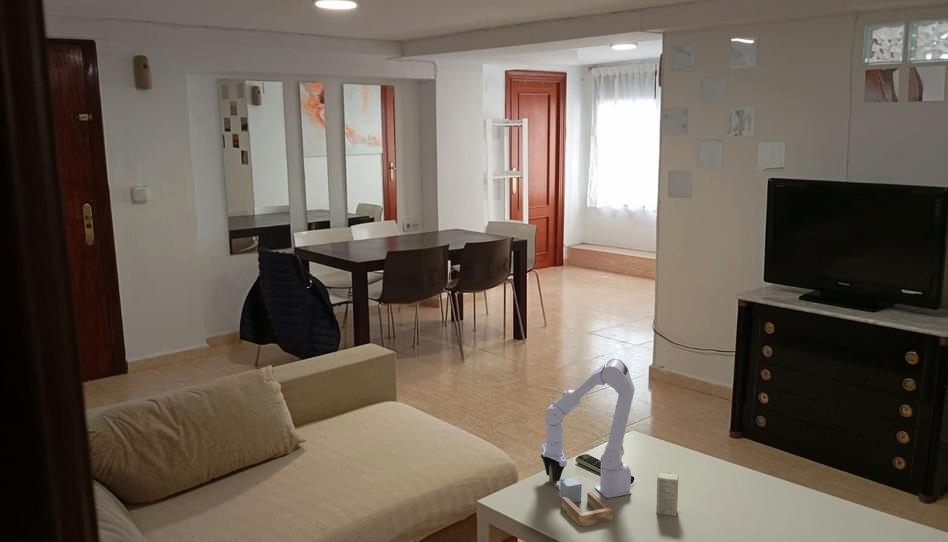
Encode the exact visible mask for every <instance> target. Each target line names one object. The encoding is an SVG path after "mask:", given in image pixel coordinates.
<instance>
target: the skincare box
mask: <svg viewBox="0 0 948 542" xmlns="http://www.w3.org/2000/svg"><path fill="white" fill-rule="evenodd" d="M656 478H657V479H656V480H657V482H656V483H657V485H656V511H655V512H656V514H658V515H667V516H672V517H676V516H677V513H678V503H679V502H678V499H679V498H678V497H679V474H677V473H672V472H671V473H670V472H662V471H659V472H658V473H657V476H656Z"/></svg>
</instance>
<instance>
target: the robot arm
mask: <svg viewBox="0 0 948 542" xmlns="http://www.w3.org/2000/svg"><path fill="white" fill-rule="evenodd" d="M629 370H630V369H629V367H628V366H627V365H626V364H625V362H624V361H623V360H621V359H619V358H611V359H609V360H608V361H607V362H606V363H604V364H603V365H602V366H600V367H598V368H597V369H596V370H595V371H594V372H592V374H590V375H589V376H588V377H587V378H586V379H585V380H584V381H583V382H581V384H580V385H578V387H576V388H575V389H567V390H564V391H563V392H562V393H561V396H560V397H559V398H558V399H557V400H553V402H552V403H551V404H550V405H549V406H548V407H547V409H546V411H545V412H544V415H543V416H544V420H545V439H544V440H545V441H544V442H545V443H543V444H541V451H543V452H541V454H540V458H541V459H542V462H543V464H544V469H545V473H546V476H548V477H549V465H550V466H551V469H552V477H553V481H554V482H556V481H557V482H560V480H561V476H562V473H563V471H564V469H565V467H566V466H567V463H568V462H567V459H566V458H565V455H564V452H563V441H564V440H563V439H564V437H563V436H564V435H563V434H564V427H563V425H564V424H563V423H564V422H563V418H565V416H567V415H569V414H570V413H571V412H572V411H574V410H575V409H576V408H577V407H579V405H581V402H582V398H583V397H584V396H585V395H586V394H588V393H589V392H590V391H591V390H593V389H594V388H595V387H596V386H605V385H607V386H609V387H611V388H612V389H613V390H614V391H615V392H616V393H617V394H618V396H617V401H616V404H615V409H614V414H613V420H612V423H611V427H610V431H609V436H608V441H607V443H606V445H605V446H604V447H605V448H604V450H603V453H602V455H601V457H600V478H599V479H600V480H599V481H600V482H599V483H600V484H599V485H594V486H595V487H594V489H596V490H597V492H599V493H600V494H601V495H602V496H604V498H606V499H611V498H616V497H620V496H625V495H631V494H632V491H631V482H632V481H631V480H632V473H631V468H630V466H629V464H627V463H623V461H622V458H623V456H624V454H625V448H624V445H623V444H624V438H625V434H626V430H627V425H628V421H629V417H630V412H631V408H632V407H631V406H632V404H633V400H634V399H633V398H634V395H635V389H636V388H635V386H634V383H633V380H632V377H631V375H630V371H629Z"/></svg>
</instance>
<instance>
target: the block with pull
mask: <svg viewBox="0 0 948 542" xmlns="http://www.w3.org/2000/svg"><path fill="white" fill-rule="evenodd" d="M548 483H549V484H550V485H553V487H555V488H556V489H557V490H558V491H559V497H561V498H560V499H562V497H567V498H568V499H569V500H571V501H572V502H573V503H574V504H575V503H580V502H582V486H583V484H582V483H581V482H580V481H579V480H578V479H577V478H576V477H575V476H574V477H573V476H572V477H570V478H569V477H568V478H562V479H560V481H559V483H560V484H559V483H558V481H556V482H554V481H553V477H552V469H551V466H550V465H549V476H548Z"/></svg>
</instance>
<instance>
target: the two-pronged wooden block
mask: <svg viewBox="0 0 948 542" xmlns="http://www.w3.org/2000/svg"><path fill="white" fill-rule="evenodd" d="M586 495H587V497H586V500H587V501H586V503H587V504H588V506H590V507H591V508H592V509H593V510H590V511H586V512H583V511H582V510H581V509H580V508H579V506H577V505H576V504H575V503H573V502H572V501H571V500H569V499H568V498H567V497H562V498H561V507H562V508H561V507H560V508H561V509H562V510H563V511H564V510H565V511H566V512H567V513H568V514H569V515H570V516H571V517H570V516H569V515H568V514H567V513H566V512H565V511H564V512H565V513H566V514H567V515H568V516H569V517H570V518H571V519H572V520H573V521H574V522H576V524H578V526H580V527H581V526H582V527H586V525H587V526H591V525H596V524H601V523H607V522H611V520H612V521H613V512H614V511H613V508H611V507H610V506H609V505H608V504H607V503H606V502H604V501H603V500H602V499H601V498H600V497H598V495H596V494H595V493H594V492H593V491H587V494H586ZM606 521H607V522H606Z"/></svg>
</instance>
